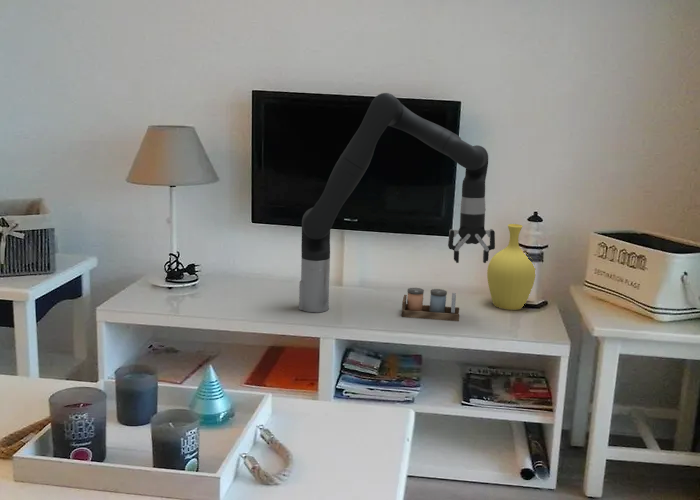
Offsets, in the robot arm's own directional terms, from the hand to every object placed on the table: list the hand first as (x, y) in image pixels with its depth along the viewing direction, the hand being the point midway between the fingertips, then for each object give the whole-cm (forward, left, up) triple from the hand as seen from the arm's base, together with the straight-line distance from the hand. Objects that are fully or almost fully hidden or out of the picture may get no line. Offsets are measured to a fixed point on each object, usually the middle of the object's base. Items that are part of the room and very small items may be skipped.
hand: (470, 262), depth 245 cm
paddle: (-5, +1, -18) cm, 19 cm away
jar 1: (-17, +1, -18) cm, 25 cm away
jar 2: (-10, +1, -18) cm, 21 cm away
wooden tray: (-12, +1, -19) cm, 23 cm away
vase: (+14, +22, -20) cm, 33 cm away
